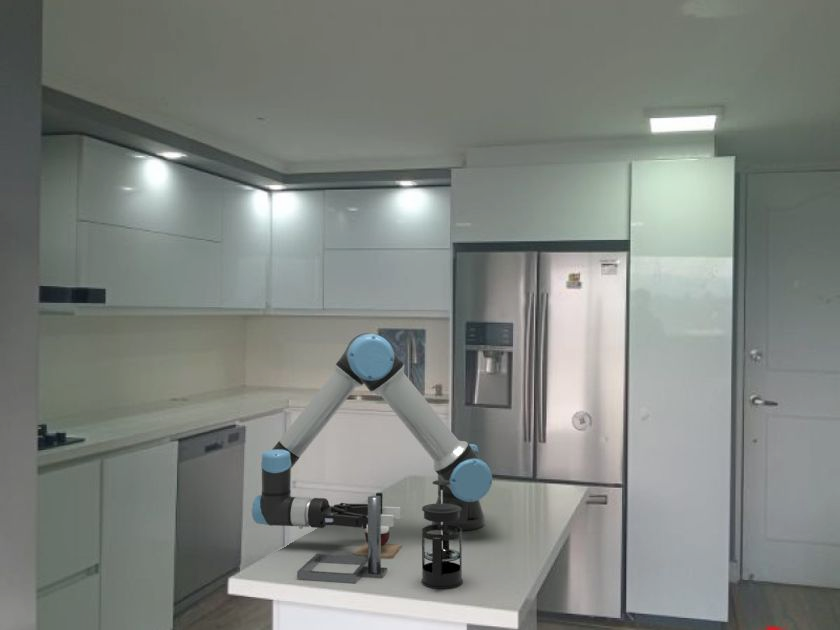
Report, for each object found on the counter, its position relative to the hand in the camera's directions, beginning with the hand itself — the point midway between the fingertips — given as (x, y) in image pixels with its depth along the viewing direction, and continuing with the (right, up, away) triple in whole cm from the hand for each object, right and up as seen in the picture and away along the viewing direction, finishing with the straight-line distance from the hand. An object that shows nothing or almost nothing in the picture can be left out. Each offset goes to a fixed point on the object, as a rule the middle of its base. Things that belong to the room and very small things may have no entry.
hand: (396, 516), depth 202 cm
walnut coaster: (-5, -9, +1) cm, 10 cm away
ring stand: (-12, -9, -15) cm, 21 cm away
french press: (+11, -9, -23) cm, 27 cm away
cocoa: (-5, -7, 0) cm, 9 cm away
